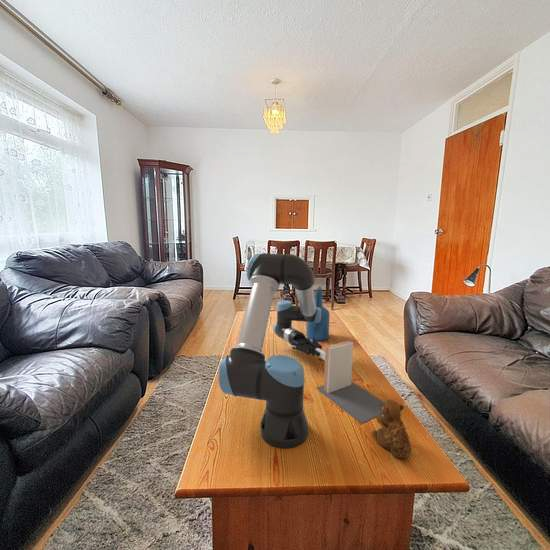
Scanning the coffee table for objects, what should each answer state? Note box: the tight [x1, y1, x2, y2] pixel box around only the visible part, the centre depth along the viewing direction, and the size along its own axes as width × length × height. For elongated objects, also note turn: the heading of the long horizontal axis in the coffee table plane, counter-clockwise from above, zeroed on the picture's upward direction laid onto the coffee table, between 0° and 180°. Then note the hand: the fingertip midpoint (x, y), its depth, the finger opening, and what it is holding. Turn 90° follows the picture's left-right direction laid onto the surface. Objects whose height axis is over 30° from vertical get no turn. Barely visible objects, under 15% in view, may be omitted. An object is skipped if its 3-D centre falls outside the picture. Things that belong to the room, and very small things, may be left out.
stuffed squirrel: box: [371, 399, 413, 459], centre depth 84 cm, size 10×14×13 cm
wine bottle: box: [305, 285, 331, 342], centre depth 166 cm, size 14×13×30 cm
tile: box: [323, 340, 354, 393], centre depth 114 cm, size 2×12×18 cm, turn 120°
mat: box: [315, 380, 384, 425], centre depth 109 cm, size 24×16×1 cm, turn 30°
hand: (326, 357), depth 121 cm, fingers closed
